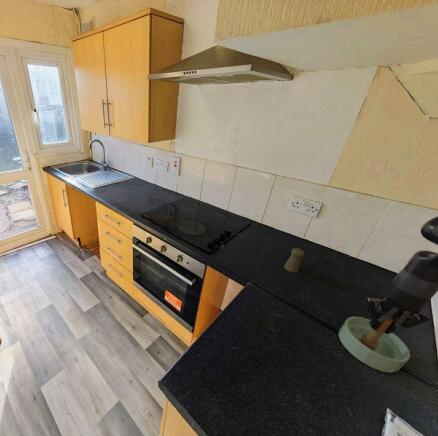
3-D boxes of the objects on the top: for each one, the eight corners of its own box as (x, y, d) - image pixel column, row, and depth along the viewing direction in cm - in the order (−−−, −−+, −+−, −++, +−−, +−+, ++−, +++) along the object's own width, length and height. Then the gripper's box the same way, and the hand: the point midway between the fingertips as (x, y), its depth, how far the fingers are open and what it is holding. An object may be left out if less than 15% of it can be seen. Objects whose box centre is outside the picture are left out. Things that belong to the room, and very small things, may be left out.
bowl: (384, 339, 77) (394, 327, 75) (409, 383, 65) (422, 371, 62) (332, 322, 83) (339, 310, 80) (346, 359, 70) (355, 347, 67)
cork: (286, 263, 113) (294, 244, 108) (299, 269, 110) (308, 250, 105) (282, 268, 109) (290, 249, 104) (296, 274, 106) (304, 255, 101)
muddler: (370, 343, 73) (393, 315, 68) (376, 354, 70) (399, 326, 64) (355, 338, 75) (376, 311, 69) (360, 348, 71) (382, 321, 66)
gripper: (386, 287, 60) (355, 330, 68) (458, 306, 56) (415, 350, 63) (374, 271, 66) (347, 312, 74) (438, 287, 62) (401, 329, 70)
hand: (379, 329), depth 69 cm, fingers closed on muddler, 2 cm apart
